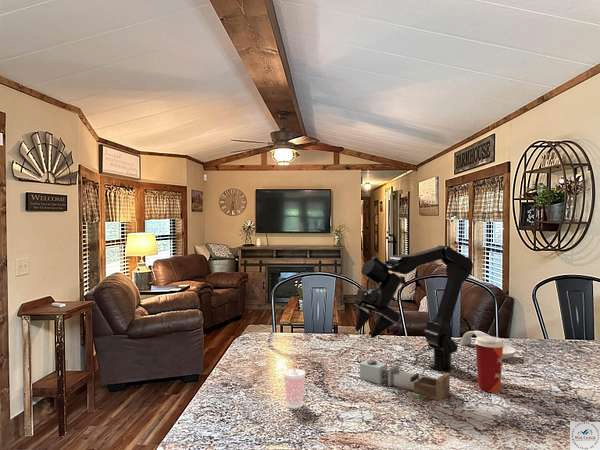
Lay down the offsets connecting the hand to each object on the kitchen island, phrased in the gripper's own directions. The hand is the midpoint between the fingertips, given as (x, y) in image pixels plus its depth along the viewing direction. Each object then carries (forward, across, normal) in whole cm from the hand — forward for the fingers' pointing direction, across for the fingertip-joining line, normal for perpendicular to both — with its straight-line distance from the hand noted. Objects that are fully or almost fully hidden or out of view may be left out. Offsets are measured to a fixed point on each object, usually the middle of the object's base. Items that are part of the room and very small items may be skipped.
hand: (363, 333), depth 141 cm
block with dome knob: (+11, 0, +11) cm, 16 cm away
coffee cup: (-4, +20, +34) cm, 40 cm away
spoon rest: (-18, -7, +57) cm, 61 cm away
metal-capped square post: (+8, +10, +15) cm, 20 cm away
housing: (+6, +17, +18) cm, 25 cm away
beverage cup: (+27, +8, -15) cm, 32 cm away
